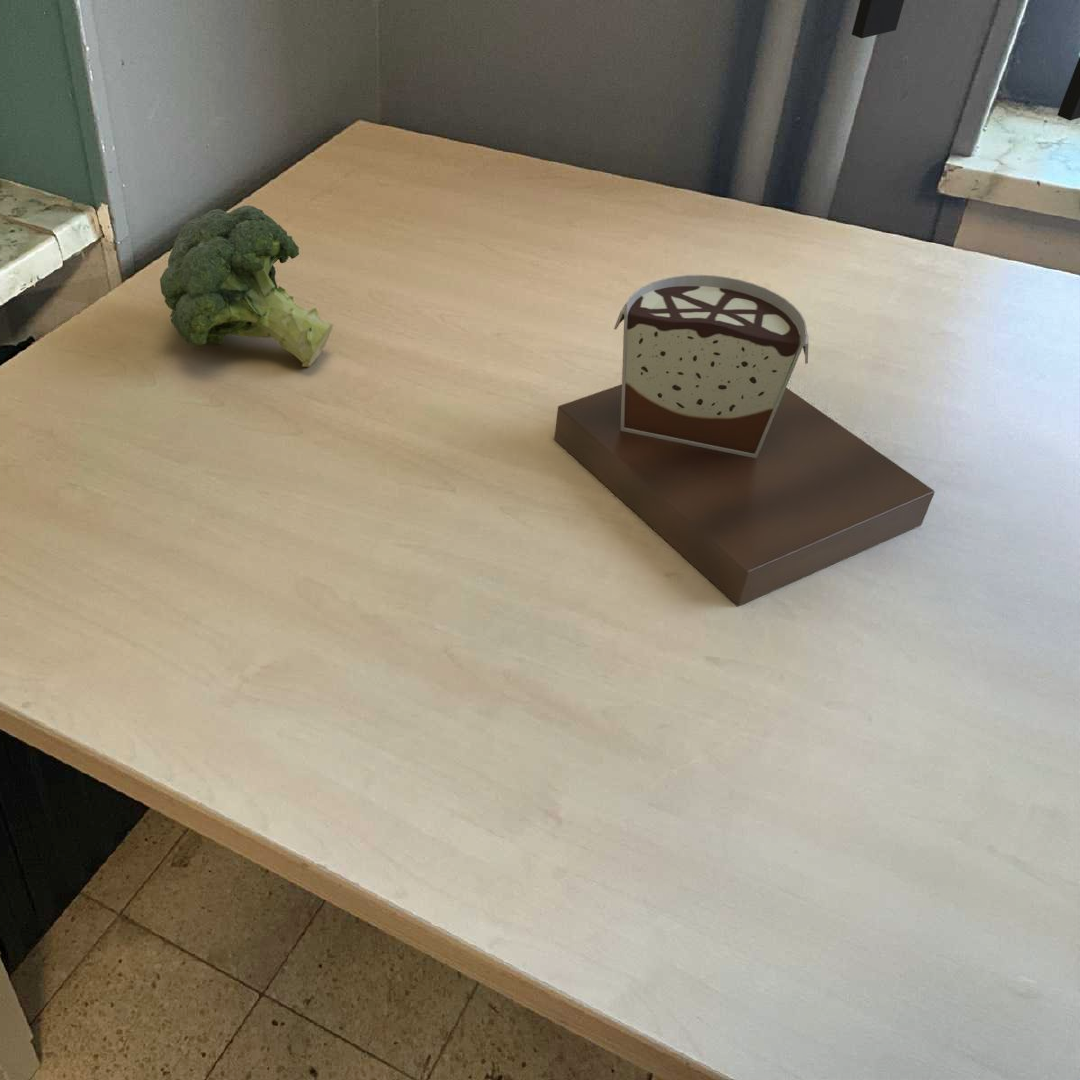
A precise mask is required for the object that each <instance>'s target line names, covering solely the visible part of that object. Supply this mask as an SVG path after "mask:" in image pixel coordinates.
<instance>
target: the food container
mask: <svg viewBox="0 0 1080 1080" xmlns="http://www.w3.org/2000/svg"><path fill="white" fill-rule="evenodd" d="M616 319H617V320H616V322H615V325H614V327H613V330H617V329H618V328H619V326H620V324H621V323H622V322H623V337H622V340H623V341H622V370H621V371H622V372H621V374H622V375H621V384H622V398H621V427H620V431H624V432H629V433H634V434H639V435H644V436H649V437H654V438H659V439H664V440H669V441H674V442H678V443H683V444H688V445H693V446H698V447H703V448H708V449H713V450H718V451H723V452H728V453H732V454H737V455H742V456H747V457H752V458H757V457H758V454H759V452H760V450H761V447H762V445H763V442H764V440H765V438H766V435H767V433H768V430H769V428H770V425H771V423H772V421H773V418H774V416H775V413H776V411H777V408H778V406H779V404H780V401H781V399H782V396H783V394H784V391H785V389H786V388H788V387H787V386H788V384H789V381H790V379H791V377H792V374H793V372H794V370H795V367H796V365H797V362H798V360H799V357H800V355H801V352H802V351H803V353H804V364H806V365H807V364H809V333H808V328H807V324H806V320H805V318H804V317H803V315H802V313H801V312H800V311H799V309H798V308H797V307H796V306H795V305H794V304H793V303H792V302H790V301H789V300H788V299H786V298H785V297H784V296H782V295H780V294H778V293H777V292H775V291H772V290H770V289H769V288H766V287H764V286H762V285H758V284H756V283H753V282H750V281H746V280H742V279H738V278H733V277H728V276H722V275H721V276H720V275H713V274H683V275H675V276H670V277H664V278H661V279H657V280H654V281H652V282H649V283H647V284H644V285H643V286H640V288H638V289H636V290H635V291H634V292H633V293H632V294H631V295H630V296H629V297H628V299H627V300H626V302H625V303H624V304H623V306H622V308H621V310H620V311H619V315H618V317H617V318H616Z"/></svg>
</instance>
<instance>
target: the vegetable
mask: <svg viewBox="0 0 1080 1080" xmlns="http://www.w3.org/2000/svg"><path fill="white" fill-rule="evenodd" d="M299 255H300V247H299V245H297V244H296V242H295V241H294V239H293V236H292V235H289V234H288V231H287V230H285V229H284V228H283V227H282V226H281V225H280V224H279V223H277V222H276V221H275V220H274V219H273V218H272V217H271V216H269V215H267V214H266V213H265V212H264V211H263V209H261V208H260V209H259V208H257V207H255V206H253V205H241V206H239V207H237V208H234V209H232V210H231V211H229V212H227V211H224V210H223V209H220V208H218V209H211V210H210V211H209V210H208V212H206V213H205V214H202V215H198V216H197V217H195V218H194V219H192V220H188V221H187V222H186V223H185V224H183V225H182V226H181V228H180V230H179V232H178V234H177V236H176V238H175V240H174V242H173V246H172V249H171V251H170V254H169V257H168V259H167V267H166V268H165V269H164V270H163V273H162V275H161V277H160V278H159V282H160V292H161V295H162V296H163V297H164V303H165V304H166V306H167V307H168V308H169V309H170V310H171V312H170V318H171V319H170V322H171V324H172V326H173V327H174V328H175V329H176V331H177V332H178V334H179V336H180V337H181V338H183V339H185V340H186V342H187V343H189V344H190V343H192V344H195V345H198V346H202V345H205V344H207V343H210V344H213V345H221V344H222V343H223V342H224V337H225V336H227V335H228V336H239V337H248V338H249V337H250V338H268V339H269V338H271V339H273V340H275V341H277V343H279V345H280V347H281V348H282V349H284V350H286V351H287V352H289V353H290V354H292V355H293V356H294V357H295V358H296V359H298V360H299V361H300V362H301V363H302V364H301V366H302V367H305V368H310V367H311V366H312V365H313V364H314V363H315V362H316V361H317V359H319V358H320V356H321V353H322V352H323V350H324V349H325V347H326V345H327V342H328V339H329V338H330V335H331V333H332V330H333V327H334V324H331V323H329V322H327V321H325V320H324V319H322V318H321V317H320V316H319V311H318V310H317V308H313V309H310V310H307V309H305V308H304V307H302V306H300V305H299V304H297V303H295V301H294V296H290V294H289V292H287V291H286V289H284V288H283V287H281V286H280V285H279V286H278V284H277V281H276V275H277V274H276V273H277V272H276V267H275V266H274V264H276V262H277V261H279V264H284V263H286V262H287V261H288V259H289V258H290V259H291V260H293V259H295V258H296V257H298V256H299Z"/></svg>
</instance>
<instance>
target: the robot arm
mask: <svg viewBox="0 0 1080 1080" xmlns="http://www.w3.org/2000/svg"><path fill="white" fill-rule="evenodd" d="M904 3H905V0H859V3H858V8H857V11H856V16H855V20H854V23H853V27H852V31H851V35H852V36H854V37H857V38H858V39H865V38H869V37H874V36H877V35H881V34H886V33H890V32H894V31H897V27H898V24H899V21H900V17H901V13H902V10H903V6H904ZM1056 116H1058V117H1059V118H1062V119H1065V120H1068V121H1073V120H1078V119H1080V56H1079V57H1078V60H1077V62H1076V64H1075V67H1074V71H1073V73H1072V75H1071V78H1070V81H1069V84H1068V86H1067V88H1066V91H1065V93H1064V95H1063V99H1062V101H1061V103H1060V106H1059V109H1058V111H1057V114H1056Z"/></svg>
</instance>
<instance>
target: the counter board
mask: <svg viewBox="0 0 1080 1080" xmlns="http://www.w3.org/2000/svg"><path fill="white" fill-rule="evenodd" d="M621 398H622V383H621V384H618V385H616V386H613V387H609V388H607V389H604V390H601V391H598V392H595V393H592V394H589V395H587V396H583V397H581V398H578V399H575V400H572V401H570V402H569V401H568V402H567V403H566V402H565V403H564V404H560V405H558V406H557V411H556V420H555V429H554V437H553V439H554V440H555V441H556V442H557V443H558V444H559V445H560V446H561V447H562V448H563V449H564V450H565V451H567V453H569V454H570V455H571V456H572V457H573V458H574V459H576V460H577V461H578V463H580V464H581V465H582V466H583V467H585V468H586V469H587V471H589V472H590V473H591V474H592V475H593V476H594V477H595V478H596V479H598V481H600V482H601V483H602V484H603V485H604V486H605V487H606V488H607V489H609V491H611V492H612V493H613V494H614V495H615V496H616V497H617V498H618V499H620V500H621V501H622V502H623V503H624V504H625V505H626V506H627V507H629V509H631V510H632V512H634V513H635V514H636V515H637V516H638V517H640V519H641V520H643V522H645V524H647V525H648V526H649V527H650V528H652V529H653V531H654V532H656V533H657V534H658V535H659V536H660V537H661V538H663V539H664V540H665V541H666V542H667V543H668V544H669V546H671V547H672V548H674V549H675V551H677V552H678V554H680V555H681V556H682V557H683V558H685V560H687V561H688V562H689V563H690V564H691V565H692V566H693V567H694V568H695V569H697V570H698V571H699V573H701V574H702V576H704V577H705V578H706V579H708V580H709V581H710V582H711V583H712V584H713V585H714V586H715V587H717V589H719V590H720V591H721V592H722V594H724V595H725V596H726V597H727V598H729V599H730V601H732V602H733V603H734V604H735V605H736V606H737V607H740V606H742V605H744V604H747V603H749V602H752V601H753V600H756V599H758V598H760V597H762V596H764V595H767V594H769V593H772V592H774V591H776V590H778V589H780V588H783V587H785V586H788V585H789V584H792V583H794V582H796V581H798V580H801V579H803V578H806V577H808V576H810V575H812V574H814V573H816V572H819V571H821V570H824V569H825V568H828V567H831V566H832V565H835V564H837V563H839V562H841V561H844V560H846V559H848V558H850V557H852V556H855V555H857V554H859V553H861V552H864V551H866V550H868V549H870V548H873V547H875V546H878V545H880V544H882V543H885V542H887V541H889V540H891V539H894V538H896V537H897V536H900V535H902V534H904V533H907V532H909V531H911V530H913V529H916V528H918V527H920V526H922V525H923V522H924V520H925V517H926V515H927V513H928V510H929V508H930V505H931V503H932V500H933V498H934V495H935V492H936V490H935V489H933V488H931V487H930V486H929V485H927V484H926V483H924V482H923V481H921V480H920V479H918V478H917V477H915V475H913V474H911V473H909V472H908V471H907V470H906V469H904V468H903V467H901V466H900V465H898V464H897V463H895V462H894V461H893V460H891V459H889V458H888V457H887V456H885V455H884V454H883V453H881V452H880V451H879V450H877V449H876V448H874V447H873V446H871V445H869V443H866V442H865V441H864V440H862V439H861V438H860V437H858V436H857V435H855V434H854V433H853V432H851V431H850V430H848V429H847V428H845V427H844V426H842V425H841V424H840V423H838V422H837V421H835V420H834V419H832V418H831V417H830V416H828V415H827V414H825V413H824V412H822V411H821V410H820V409H818V408H817V407H815V406H814V405H812V404H811V403H809V402H808V401H806V400H805V399H804V398H803V397H801V396H799V395H798V394H797V393H795V392H793V391H792V390H791V389H790V388H788V387H786V389H785V391H784V394H783V396H782V399H781V401H780V404H779V406H778V408H777V411H776V413H775V416H774V418H773V421H772V423H771V425H770V428H769V430H768V433H767V435H766V438H765V440H764V442H763V445H762V447H761V450H760V452H759V454H758V457H757V458H752V457H747V456H742V455H737V454H732V453H728V452H723V451H718V450H713V449H708V448H703V447H698V446H693V445H688V444H683V443H678V442H674V441H669V440H664V439H659V438H654V437H649V436H644V435H639V434H634V433H629V432H624V431H620V427H621Z"/></svg>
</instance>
